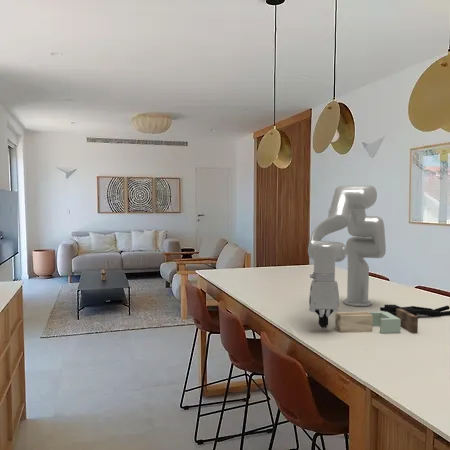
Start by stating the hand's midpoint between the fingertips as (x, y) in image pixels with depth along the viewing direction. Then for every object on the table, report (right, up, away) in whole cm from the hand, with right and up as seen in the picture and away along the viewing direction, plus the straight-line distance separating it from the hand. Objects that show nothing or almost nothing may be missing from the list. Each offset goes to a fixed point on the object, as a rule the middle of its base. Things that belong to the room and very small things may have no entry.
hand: (323, 326), depth 156 cm
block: (+23, -1, +2) cm, 23 cm away
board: (+19, -2, +4) cm, 19 cm away
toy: (+46, -2, +24) cm, 52 cm away
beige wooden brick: (+12, -1, +1) cm, 12 cm away
